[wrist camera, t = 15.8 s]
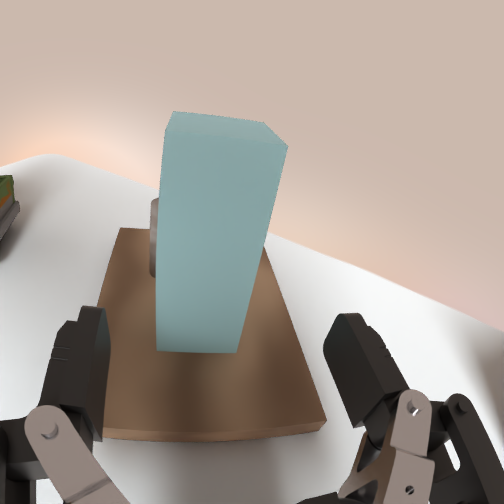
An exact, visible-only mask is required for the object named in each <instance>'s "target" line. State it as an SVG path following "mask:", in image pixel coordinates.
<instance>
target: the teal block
mask: <svg viewBox="0 0 504 504" xmlns="http://www.w3.org/2000/svg"><path fill="white" fill-rule="evenodd" d="M287 149H288V146H287V145H286V144H285V143H284V142H283V141H282V140H281V139H280V138H279V137H278V136H277V135H276V134H275V133H274V132H273V131H272V130H271V129H270V128H269V127H268V126H267V125H266V124H265V123H263V122H257V121H250V120H244V119H237V118H230V117H223V116H215V115H206V114H197V113H187V112H176V111H174V112H173V113H172V116H171V118H170V121H169V123H168V125H167V128H166V130H165V137H164V146H163V155H162V166H161V167H162V168H161V178H160V191H159V205H158V223H157V247H156V346H157V351H167V352H192V353H236V352H237V348H238V345H239V341H240V337H241V333H242V329H243V325H244V321H245V317H246V313H247V310H248V306H249V302H250V298H251V294H252V290H253V286H254V282H255V278H256V274H257V270H258V266H259V262H260V258H261V254H262V250H263V246H264V242H265V238H266V234H267V230H268V226H269V222H270V218H271V214H272V210H273V206H274V202H275V198H276V194H277V190H278V185H279V182H280V178H281V173H282V169H283V165H284V161H285V157H286V152H287Z"/></svg>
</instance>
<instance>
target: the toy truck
mask: <svg viewBox="0 0 504 504" xmlns="http://www.w3.org/2000/svg"><path fill="white" fill-rule="evenodd" d="M13 185H14V181H13V177H12V175H2V176H0V240H1V239H2V237H3V235H4V234H5V232H6V231H7V229H8V228H9V226H10V225H11V223H12V222H13V220H14V219H15V217H16V216H17V214H18V213H19V212H20V207H19V202H18V201H15V198H14V188H13Z"/></svg>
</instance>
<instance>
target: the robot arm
mask: <svg viewBox="0 0 504 504" xmlns="http://www.w3.org/2000/svg"><path fill="white" fill-rule="evenodd" d="M323 353H324V357H325V359H326V362H327V364H328V367H329V369H330V372H331V374H332V376H333V379H334V381H335V384H336V386H337V389H338V391H339V394H340V396H341V399H342V401H343V404H344V406H345V409H346V411H347V414H348V416H349V419H350V421H351V424H352V426H353V428H357V427H361V426H365V428H366V431H365V432H364V434H363V437H362V440H361V443H360V446H359V449H358V452H357V455H356V458H355V461H354V464H353V467H352V470H351V473H350V475H349V477H348V478H347V480H346V481H345V482H344V483H343V485H342V486H341V488H340V490H339V492H338V494H337V492H333V493H330V494H326V495H322V496H318V497H313V498H309V499H305V500H303V501H301V502H299V503H297V504H428V501H429V502H430V504H504V470H503V468H502V465H501V463H500V461H499V458H498V456H497V454H496V452H495V449H494V447H493V445H492V443H491V441H490V439H489V437H488V434H487V432H486V430H485V428H484V426H483V424H482V422H481V420H480V418H479V416H478V414H477V412H476V410H475V408H474V406H473V404H472V403H471V401H470V400H469V399H468V398H467V397H466V396H464V395H462V394H458V393H456V394H453V395H451V396H450V397H449V398H448V399H447V400H446V401H445V402H440V401H429V400H428V398H427V397H426V396H425V395H424V394H423V393H421V392H419V391H417V390H413V389H410V388H409V387H408V385H407V383H406V381H405V379H404V377H403V376H402V374H401V372H400V370H399V368H398V366H397V365H396V363H395V361H394V359H393V357H391V354H390V352H389V350H388V349H386V345H385V343H384V342H383V340H382V338H381V336H380V335H379V334H378V333H377V332H376V331H375V330H374V329H373V328H372V327H371V326H367V324H366V322H365V321H364V319H363V317H362V316H361V315H360V314H359V313H345V314H339V315H338V316H337V317H336V319H335V321H334V323H333V325H332V327H331V329H330V331H329V333H328V335H327V337H326V339H325V341H324V345H323ZM110 356H111V340H110V333H109V328H108V322H107V316H106V310H105V308H104V307H93V306H82V307H81V310H80V313H79V317H78V320H77V321H68V320H67V321H66V322H65V324H64V325H63V326H62V327H61V328H60V330H59V331H58V332H57V336H56V339H55V342H54V348H53V349H52V353H51V359H50V360H49V364H48V368H47V372H46V376H45V380H44V384H43V389H42V393H41V398H40V401H39V403H38V406H37V407H36V408H35V409H33V410H32V411H31V412H30V413H29V414H28V416H26V417H23V418H20V419H12V420H3V421H0V504H36V480H39V479H47V478H49V479H50V480H51V482H52V483H53V485H54V487H55V488H56V490H57V491H58V493H59V494H60V496H61V498H62V500H63V504H130V503H129V501H128V500H127V499H126V498H125V497H124V496H123V494H122V493H121V492H120V491H119V490H118V488H117V487H116V486H115V485H114V483H113V482H112V481H111V479H110V478H109V477H108V476H107V474H106V473H105V472H104V470H103V469H102V468H101V466H100V465H99V464H98V462H97V461H96V459H95V458H94V457H93V455H92V450H93V441H99V442H102V437H103V422H104V409H105V398H106V388H107V379H108V371H109V363H110ZM449 439H451V441H452V443H453V446H454V448H455V450H456V453H457V455H458V457H459V460H460V468H459V470H458V471H456V470H455V469H454V467H453V464H452V462H451V459H450V457H449V455H448V452H447V450H446V447H445V445H444V443H445V442H447V441H448V440H449Z"/></svg>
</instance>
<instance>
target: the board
mask: <svg viewBox="0 0 504 504" xmlns="http://www.w3.org/2000/svg"><path fill="white" fill-rule="evenodd" d="M158 205H159V198H156V199H154V200H153V201H152V202H151V216H150V229H135V228H120V230H119V233H118V236H117V239H116V242H115V245H114V248H113V251H112V255H111V258H110V261H109V264H108V268H107V271H106V275H105V278H104V282H103V285H102V289H101V292H100V296H99V300H98V304H97V307H104V308H105V310H106V316H107V322H108V328H109V333H110V340H111V356H110V363H109V371H108V379H107V388H106V398H105V409H104V422H103V437H106V438H115V439H126V440H140V441H160V442H216V441H236V440H250V439H261V438H271V437H280V436H288V435H295V434H302V433H309V432H315V431H318V430H319V429H320V428H321V427H322V426H323V425H324V423H325V422H326V421H327V419H326V416H325V413H324V410H323V408H322V405H321V402H320V399H319V396H318V393H317V391H316V388H315V385H314V382H313V379H312V377H311V374H310V371H309V368H308V365H307V363H306V360H305V357H304V354H303V352H302V349H301V346H300V343H299V341H298V338H297V335H296V332H295V329H294V327H293V324H292V321H291V318H290V316H289V313H288V310H287V308H286V305H285V302H284V299H283V297H282V294H281V291H280V288H279V286H278V283H277V280H276V278H275V275H274V272H273V270H272V267H271V264H270V261H269V259H268V256H267V253H266V251H265V248H264V246H263V250H262V254H261V258H260V262H259V266H258V270H257V274H256V278H255V282H254V286H253V290H252V294H251V298H250V302H249V306H248V310H247V313H246V317H245V321H244V325H243V329H242V333H241V337H240V341H239V345H238V348H237V352H236V353H192V352H167V351H157V346H156V247H157V223H158Z"/></svg>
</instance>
